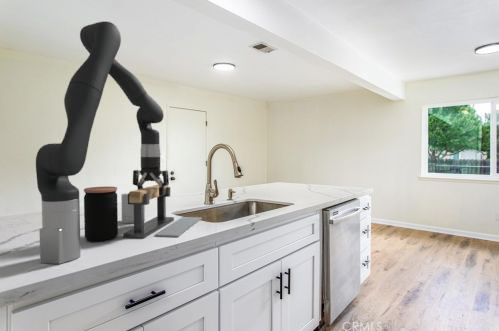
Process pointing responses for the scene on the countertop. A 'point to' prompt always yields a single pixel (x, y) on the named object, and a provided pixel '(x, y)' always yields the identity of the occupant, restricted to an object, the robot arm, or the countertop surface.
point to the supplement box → (128, 210)
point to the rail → (138, 195)
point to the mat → (178, 227)
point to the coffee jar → (100, 214)
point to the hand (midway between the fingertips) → (150, 195)
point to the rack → (152, 225)
